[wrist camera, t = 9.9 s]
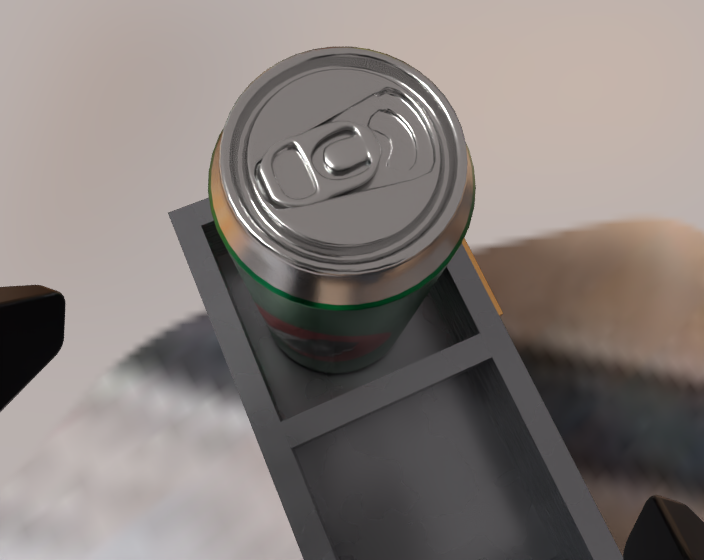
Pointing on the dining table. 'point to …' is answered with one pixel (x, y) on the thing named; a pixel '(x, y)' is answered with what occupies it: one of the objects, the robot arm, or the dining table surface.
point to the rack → (404, 429)
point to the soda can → (341, 200)
